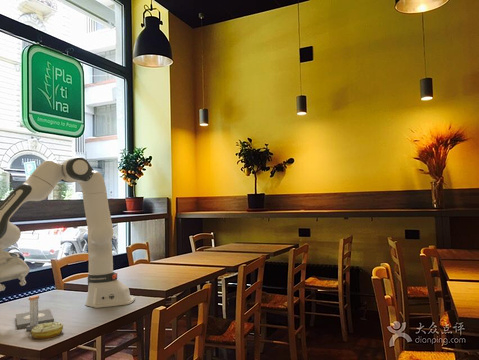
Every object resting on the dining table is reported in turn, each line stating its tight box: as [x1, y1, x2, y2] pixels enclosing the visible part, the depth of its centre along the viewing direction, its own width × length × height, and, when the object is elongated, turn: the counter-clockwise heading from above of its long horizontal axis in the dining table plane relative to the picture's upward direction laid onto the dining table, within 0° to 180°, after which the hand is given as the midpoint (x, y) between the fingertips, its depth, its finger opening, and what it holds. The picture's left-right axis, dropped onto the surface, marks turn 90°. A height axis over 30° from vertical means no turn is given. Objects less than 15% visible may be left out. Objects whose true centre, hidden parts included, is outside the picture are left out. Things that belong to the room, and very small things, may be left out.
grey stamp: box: [25, 295, 40, 332], centre depth 149 cm, size 4×4×12 cm
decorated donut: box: [30, 321, 64, 340], centre depth 142 cm, size 10×11×4 cm
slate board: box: [15, 308, 55, 330], centre depth 161 cm, size 18×13×2 cm
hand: (13, 287), depth 153 cm, fingers open, 8 cm apart
